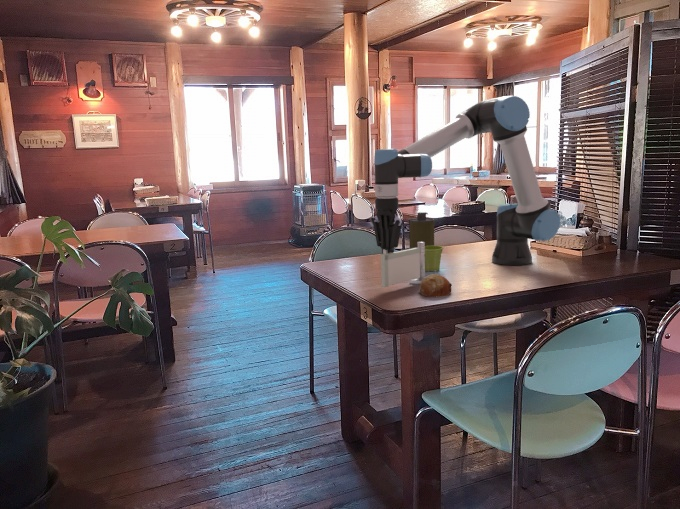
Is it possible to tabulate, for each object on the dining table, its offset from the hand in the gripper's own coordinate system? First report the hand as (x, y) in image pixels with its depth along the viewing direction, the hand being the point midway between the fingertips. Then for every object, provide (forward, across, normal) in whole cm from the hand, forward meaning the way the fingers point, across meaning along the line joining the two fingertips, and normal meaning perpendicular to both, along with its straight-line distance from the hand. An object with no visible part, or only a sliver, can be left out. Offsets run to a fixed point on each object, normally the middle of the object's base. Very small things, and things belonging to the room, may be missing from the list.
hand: (387, 268), depth 185 cm
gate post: (+7, +3, +13) cm, 15 cm away
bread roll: (+7, +16, +5) cm, 18 cm away
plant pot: (+7, -8, +31) cm, 32 cm away
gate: (+5, +4, +3) cm, 7 cm away
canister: (+7, -22, +41) cm, 47 cm away
